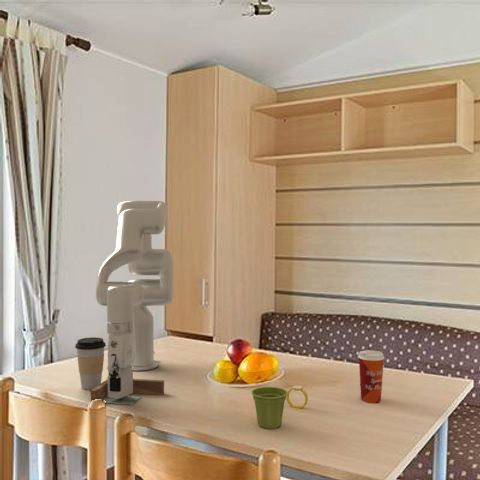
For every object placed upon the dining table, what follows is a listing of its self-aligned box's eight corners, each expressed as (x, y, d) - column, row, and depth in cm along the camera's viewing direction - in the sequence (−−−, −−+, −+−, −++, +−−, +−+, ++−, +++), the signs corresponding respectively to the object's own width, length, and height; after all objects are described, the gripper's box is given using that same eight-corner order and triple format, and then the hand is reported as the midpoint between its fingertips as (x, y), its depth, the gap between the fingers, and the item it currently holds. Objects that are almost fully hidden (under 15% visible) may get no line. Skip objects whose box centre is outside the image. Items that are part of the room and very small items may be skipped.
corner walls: (109, 390, 175) (109, 377, 175) (164, 393, 172) (164, 380, 172) (90, 404, 162) (90, 390, 162) (149, 407, 159) (149, 393, 159)
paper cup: (369, 405, 161) (369, 357, 160) (352, 398, 167) (352, 351, 167) (390, 401, 164) (390, 354, 164) (372, 394, 171) (373, 348, 170)
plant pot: (249, 419, 150) (249, 386, 150) (284, 417, 151) (284, 385, 151) (253, 432, 141) (253, 398, 140) (290, 431, 142) (290, 397, 141)
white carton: (133, 392, 168) (132, 359, 167) (117, 399, 162) (116, 364, 162) (123, 390, 170) (123, 357, 169) (107, 397, 164) (107, 363, 163)
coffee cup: (98, 392, 173) (97, 343, 173) (69, 390, 175) (69, 342, 175) (111, 383, 183) (110, 337, 182) (84, 381, 185) (83, 336, 184)
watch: (308, 408, 160) (309, 387, 159) (305, 411, 157) (306, 390, 157) (288, 403, 162) (289, 383, 162) (284, 406, 160) (286, 386, 159)
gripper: (121, 334, 156) (121, 396, 156) (142, 322, 173) (143, 379, 174) (95, 333, 157) (96, 395, 158) (119, 321, 174) (120, 377, 175)
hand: (120, 386), depth 166 cm, fingers closed on white carton, 7 cm apart
